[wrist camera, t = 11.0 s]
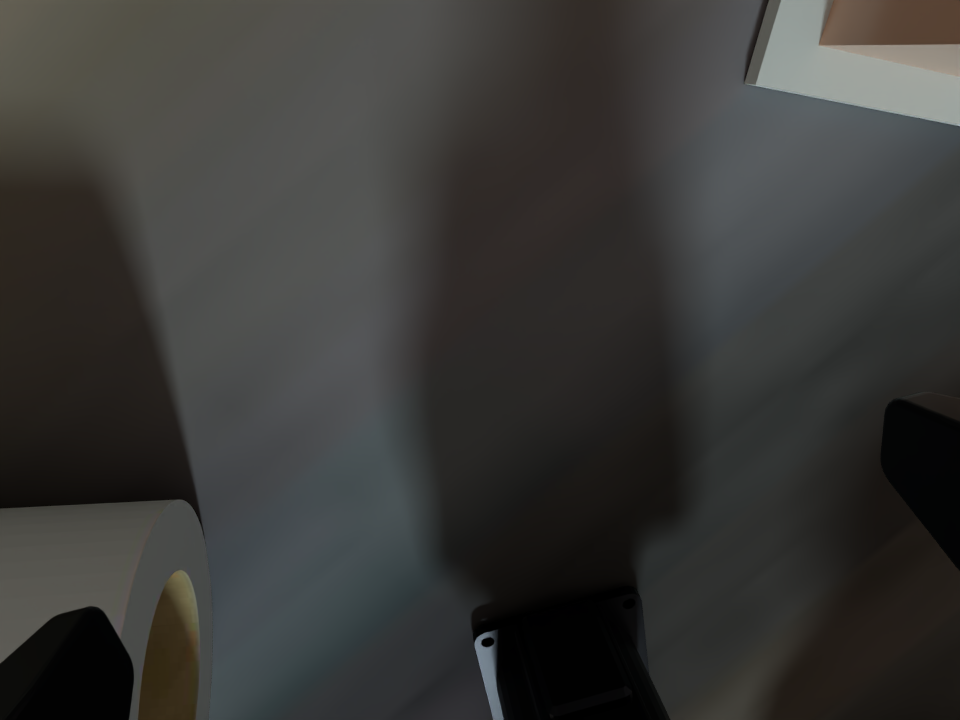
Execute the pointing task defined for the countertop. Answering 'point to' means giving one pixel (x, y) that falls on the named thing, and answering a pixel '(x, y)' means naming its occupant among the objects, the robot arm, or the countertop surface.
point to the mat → (843, 68)
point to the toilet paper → (118, 591)
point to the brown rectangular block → (898, 31)
